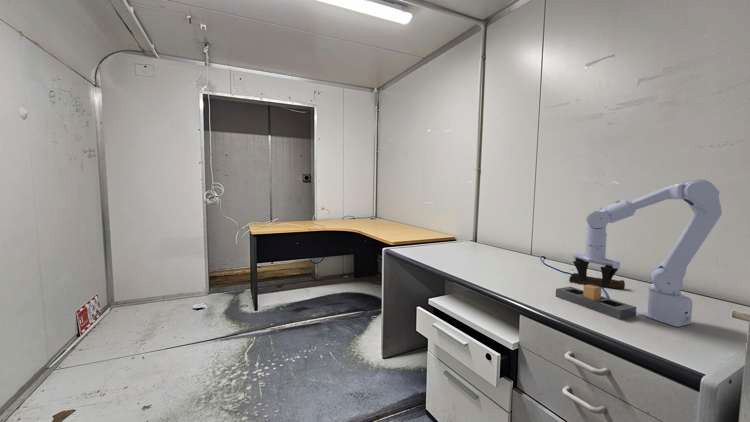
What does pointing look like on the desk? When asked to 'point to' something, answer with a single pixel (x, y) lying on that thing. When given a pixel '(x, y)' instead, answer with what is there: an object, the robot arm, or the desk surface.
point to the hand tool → (596, 281)
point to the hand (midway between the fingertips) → (593, 283)
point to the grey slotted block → (597, 303)
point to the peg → (592, 292)
